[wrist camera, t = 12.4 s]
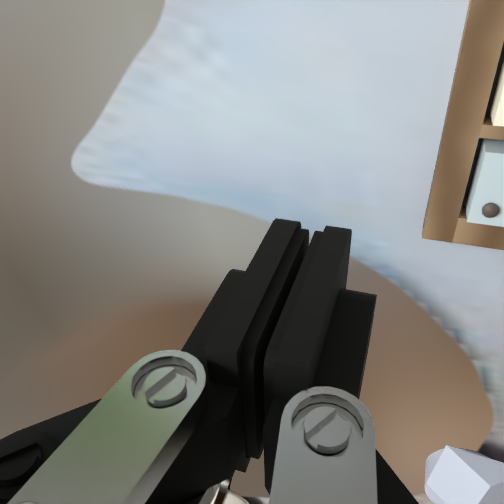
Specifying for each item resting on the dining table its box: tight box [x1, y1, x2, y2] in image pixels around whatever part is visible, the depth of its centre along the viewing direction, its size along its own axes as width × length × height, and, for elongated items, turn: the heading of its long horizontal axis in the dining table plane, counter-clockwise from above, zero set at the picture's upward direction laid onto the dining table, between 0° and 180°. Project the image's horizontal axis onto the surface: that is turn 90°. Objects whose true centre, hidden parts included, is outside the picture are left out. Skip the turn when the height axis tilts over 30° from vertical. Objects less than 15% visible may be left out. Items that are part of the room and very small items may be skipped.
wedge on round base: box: [425, 445, 504, 504], centre depth 57 cm, size 9×7×13 cm
